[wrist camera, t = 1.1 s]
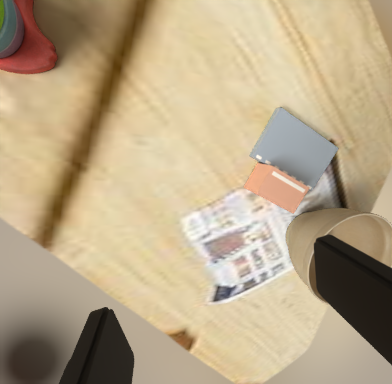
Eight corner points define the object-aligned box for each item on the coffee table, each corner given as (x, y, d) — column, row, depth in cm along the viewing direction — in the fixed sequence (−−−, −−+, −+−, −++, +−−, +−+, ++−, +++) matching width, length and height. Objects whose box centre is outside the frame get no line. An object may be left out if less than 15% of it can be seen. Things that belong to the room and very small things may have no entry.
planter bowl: (352, 210, 41) (417, 233, 31) (315, 273, 44) (362, 314, 33) (294, 183, 37) (345, 198, 27) (256, 254, 40) (290, 293, 29)
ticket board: (275, 108, 33) (281, 107, 31) (331, 147, 37) (338, 148, 35) (249, 156, 34) (253, 156, 33) (305, 189, 38) (311, 191, 36)
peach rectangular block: (257, 162, 35) (273, 166, 30) (290, 182, 37) (309, 188, 32) (243, 187, 35) (256, 194, 30) (276, 204, 37) (293, 213, 33)
